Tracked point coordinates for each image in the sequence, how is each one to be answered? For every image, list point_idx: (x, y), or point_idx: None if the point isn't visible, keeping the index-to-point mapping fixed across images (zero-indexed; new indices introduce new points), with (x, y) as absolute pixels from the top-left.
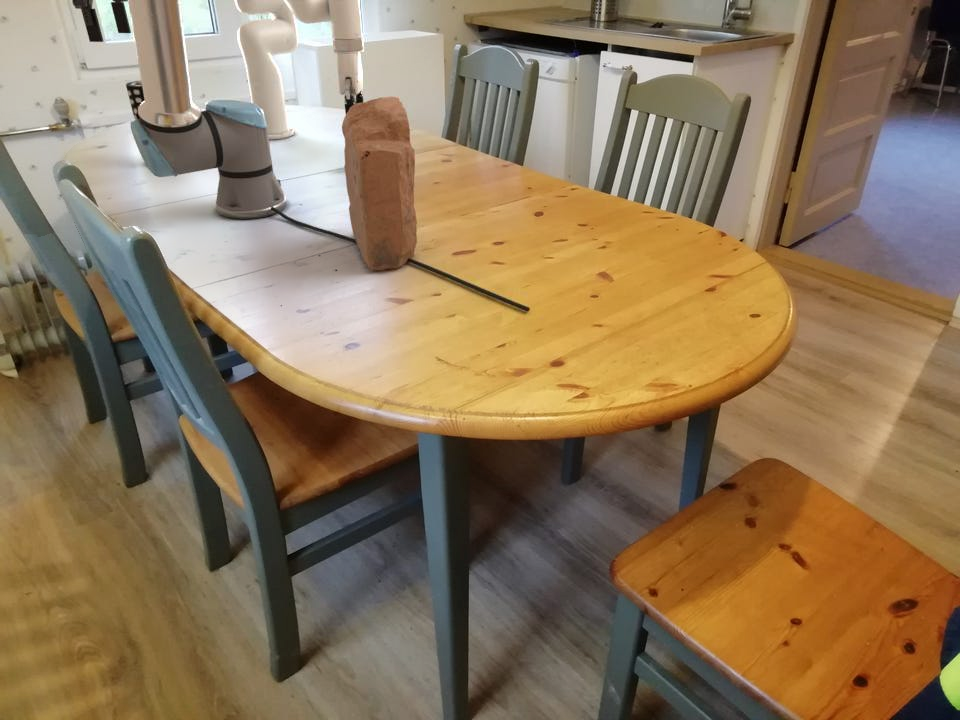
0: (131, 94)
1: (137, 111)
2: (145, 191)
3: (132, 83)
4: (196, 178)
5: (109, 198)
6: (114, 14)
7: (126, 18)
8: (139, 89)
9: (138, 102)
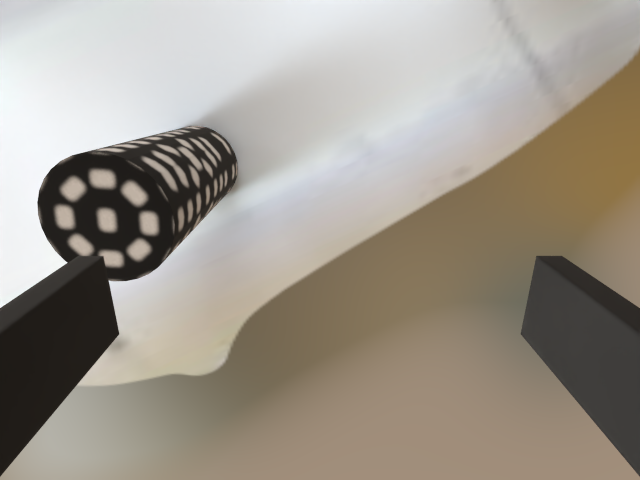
0: (180, 239)
1: (199, 214)
2: (416, 113)
3: (118, 261)
4: (317, 20)
5: (460, 172)
6: (34, 427)
7: (22, 310)
8: (175, 208)
9: (192, 211)
